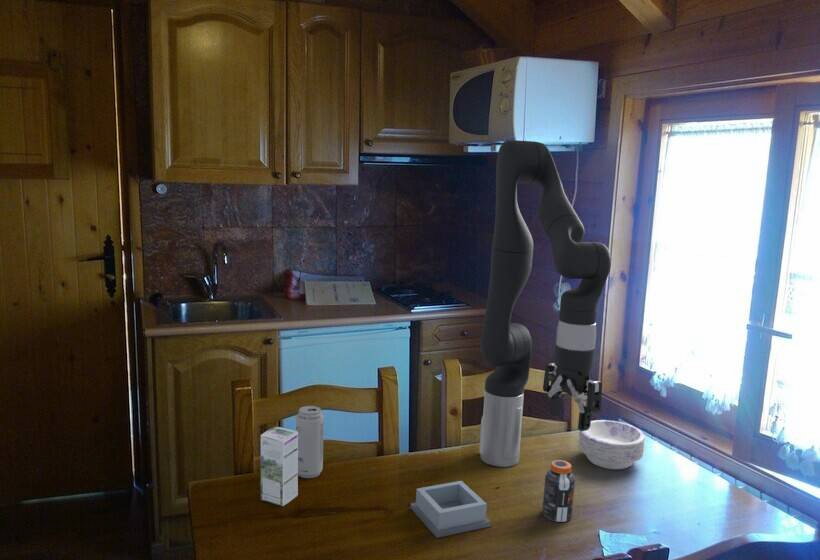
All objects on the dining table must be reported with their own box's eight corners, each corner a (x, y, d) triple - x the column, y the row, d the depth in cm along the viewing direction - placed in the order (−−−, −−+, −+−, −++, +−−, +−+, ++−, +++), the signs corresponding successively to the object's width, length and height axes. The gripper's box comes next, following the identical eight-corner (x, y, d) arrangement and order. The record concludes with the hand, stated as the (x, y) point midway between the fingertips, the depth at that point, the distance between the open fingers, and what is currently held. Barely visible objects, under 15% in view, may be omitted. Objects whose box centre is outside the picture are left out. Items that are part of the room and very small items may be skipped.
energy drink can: (293, 468, 157) (294, 405, 154) (320, 466, 159) (321, 404, 156) (297, 480, 151) (298, 415, 149) (324, 478, 153) (325, 413, 150)
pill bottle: (572, 524, 138) (576, 471, 136) (541, 520, 139) (546, 468, 137) (571, 510, 143) (575, 459, 141) (542, 506, 145) (546, 455, 143)
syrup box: (298, 495, 145) (299, 430, 142) (282, 507, 139) (283, 440, 137) (276, 489, 147) (276, 424, 144) (259, 501, 142) (259, 434, 139)
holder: (410, 507, 141) (411, 487, 141) (461, 498, 146) (463, 478, 146) (436, 537, 131) (437, 515, 130) (491, 526, 136) (492, 505, 135)
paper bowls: (567, 463, 166) (570, 432, 165) (590, 443, 178) (592, 414, 177) (630, 482, 157) (634, 449, 156) (649, 460, 170) (653, 429, 168)
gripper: (616, 351, 130) (608, 432, 133) (566, 333, 143) (559, 408, 145) (586, 355, 127) (578, 438, 130) (537, 336, 139) (531, 412, 142)
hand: (568, 422), depth 138 cm, fingers open, 8 cm apart
